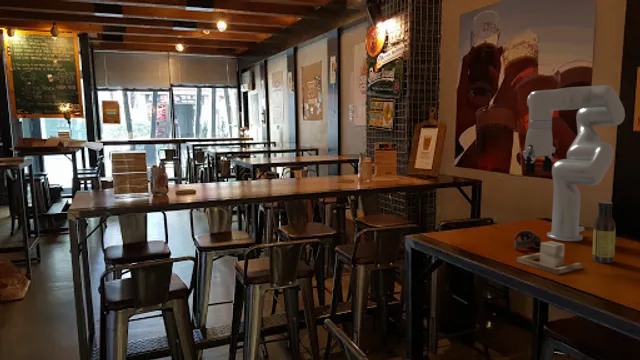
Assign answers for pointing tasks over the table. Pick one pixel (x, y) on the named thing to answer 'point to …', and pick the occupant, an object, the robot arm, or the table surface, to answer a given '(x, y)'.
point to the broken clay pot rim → (527, 239)
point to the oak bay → (559, 270)
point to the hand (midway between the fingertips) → (538, 172)
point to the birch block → (552, 253)
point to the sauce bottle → (604, 234)
